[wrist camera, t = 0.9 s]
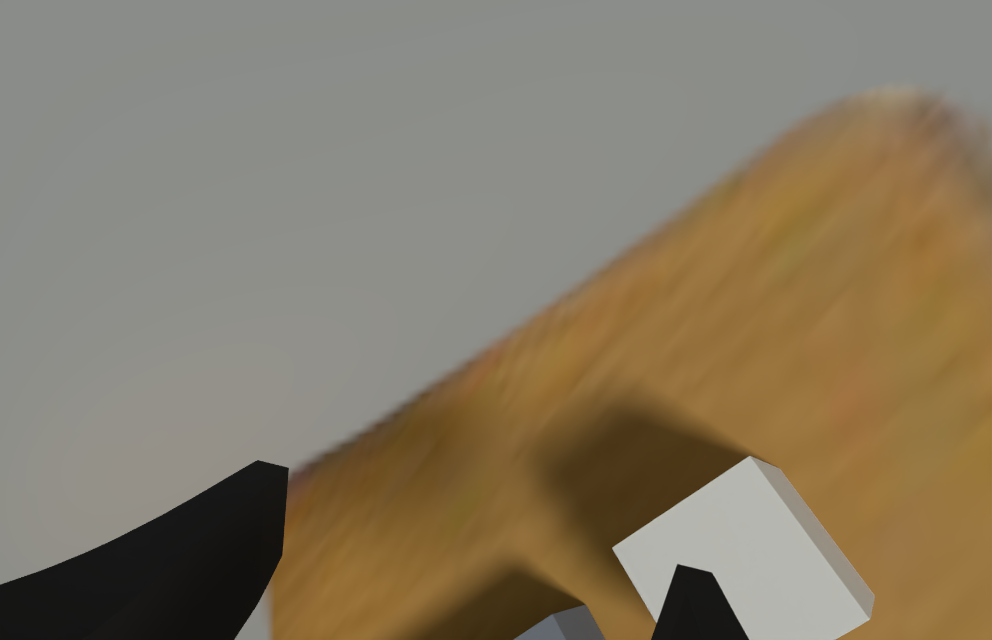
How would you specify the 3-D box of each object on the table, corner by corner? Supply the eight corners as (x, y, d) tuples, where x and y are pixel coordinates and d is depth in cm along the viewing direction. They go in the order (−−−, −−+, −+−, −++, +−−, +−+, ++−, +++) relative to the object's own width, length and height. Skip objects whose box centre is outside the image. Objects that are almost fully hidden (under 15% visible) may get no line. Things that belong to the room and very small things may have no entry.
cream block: (875, 595, 22) (870, 619, 17) (749, 669, 23) (709, 712, 18) (779, 468, 24) (749, 456, 19) (668, 541, 25) (611, 547, 20)
